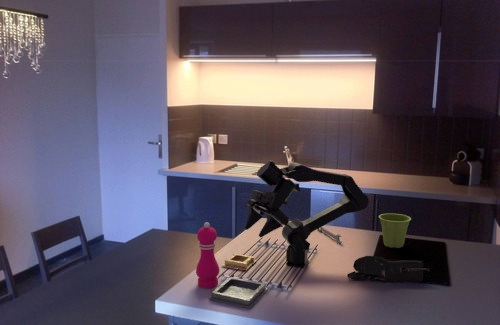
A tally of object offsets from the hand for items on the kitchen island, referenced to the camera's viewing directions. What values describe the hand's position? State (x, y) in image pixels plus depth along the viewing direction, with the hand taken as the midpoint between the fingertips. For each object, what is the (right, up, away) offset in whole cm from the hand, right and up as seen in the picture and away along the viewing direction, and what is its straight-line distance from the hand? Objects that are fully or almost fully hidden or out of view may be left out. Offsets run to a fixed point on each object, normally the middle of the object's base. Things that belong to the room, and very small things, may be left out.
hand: (252, 232), depth 147 cm
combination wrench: (+32, -8, +38) cm, 50 cm away
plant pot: (+55, -9, +28) cm, 62 cm away
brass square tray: (-4, -12, +9) cm, 16 cm away
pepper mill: (-14, -15, -7) cm, 22 cm away
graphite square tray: (-4, -16, -14) cm, 22 cm away
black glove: (+43, -15, -3) cm, 45 cm away
